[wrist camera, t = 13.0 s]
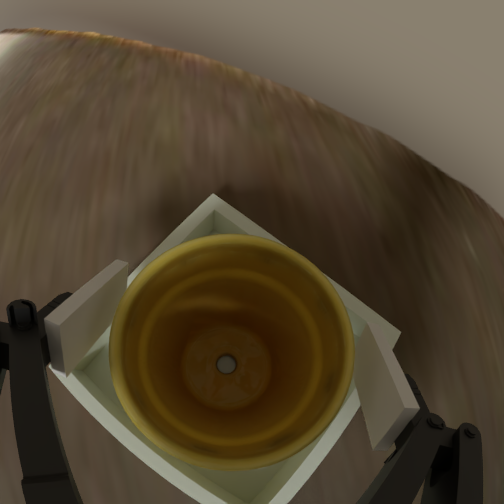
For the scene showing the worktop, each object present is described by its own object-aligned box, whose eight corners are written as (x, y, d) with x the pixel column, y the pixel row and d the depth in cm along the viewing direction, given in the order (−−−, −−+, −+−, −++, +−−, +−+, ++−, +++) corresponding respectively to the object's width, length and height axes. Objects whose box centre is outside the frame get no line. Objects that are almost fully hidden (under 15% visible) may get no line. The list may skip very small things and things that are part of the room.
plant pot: (173, 279, 23) (153, 206, 14) (309, 313, 23) (368, 261, 14) (134, 414, 18) (79, 428, 10) (282, 450, 19) (332, 487, 10)
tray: (378, 341, 23) (401, 332, 20) (250, 517, 16) (257, 535, 13) (212, 217, 26) (213, 193, 23) (69, 371, 19) (48, 366, 16)
